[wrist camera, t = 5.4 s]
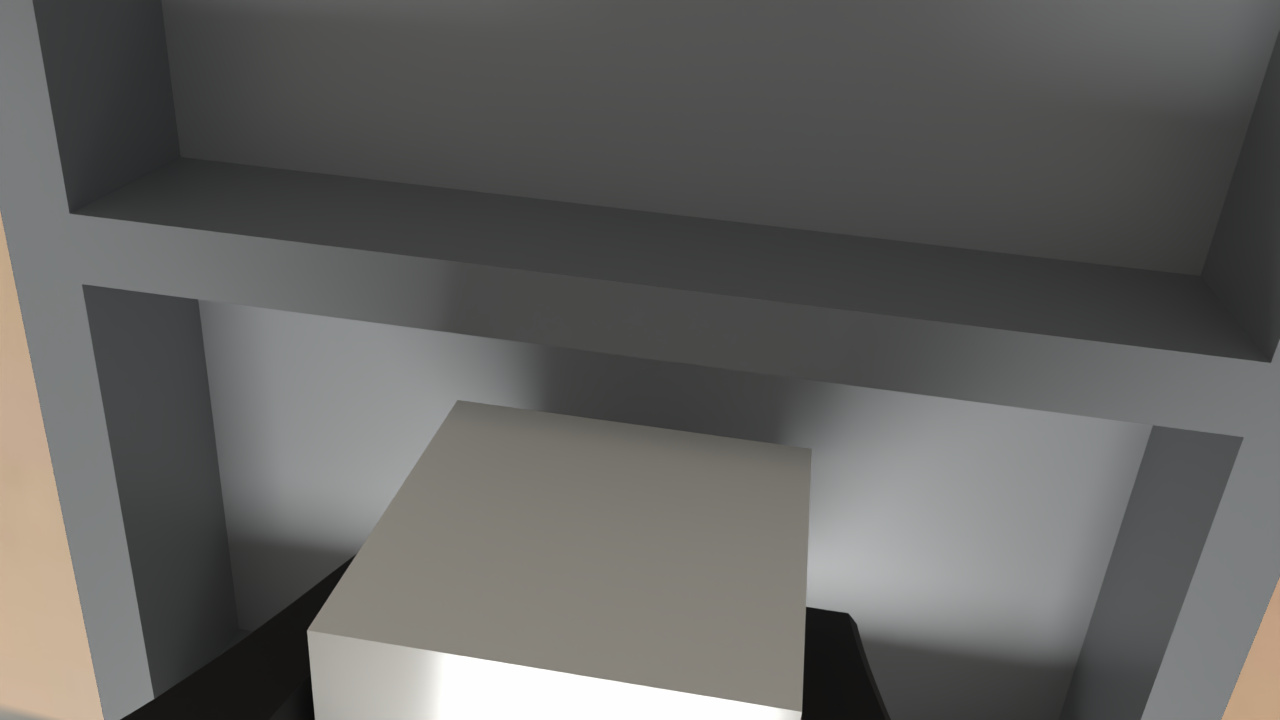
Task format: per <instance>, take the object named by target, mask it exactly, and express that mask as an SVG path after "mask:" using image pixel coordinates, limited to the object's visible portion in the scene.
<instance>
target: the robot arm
mask: <svg viewBox="0 0 1280 720" xmlns="http://www.w3.org/2000/svg"><path fill="white" fill-rule="evenodd" d="M356 555H357V554H356ZM356 555H354V556H353V557H351V558H350V559H349V560H348V561H346V562H345V563H344V564H342V565H341V566H340V567H338V568H337V569H336V570H334V571H333V572H332V573H330V574H329V575H328V576H327V577H325V578H324V579H323V580H321V581H320V582H319V583H317V584H316V585H315V586H314V587H312V588H311V589H310V590H308V591H307V592H306V593H304V594H303V595H302V596H300V597H299V598H298V599H296V600H295V601H294V602H292V603H291V604H290V605H289V606H287V607H286V608H285V609H283V610H282V611H281V612H279V613H278V614H276V615H275V616H274V617H272V618H271V619H270V620H268V621H267V622H266V623H264V624H263V625H261V626H260V627H259V628H257V629H256V630H255V631H253V632H252V633H250V634H249V635H248V636H246V637H245V638H244V639H242V640H241V641H239V642H238V643H237V644H235V645H234V646H233V647H231V648H230V649H228V650H227V651H226V652H224V653H223V654H221V655H220V656H218V657H217V658H215V659H214V660H212V661H211V662H209V663H208V664H206V665H205V666H203V667H202V668H200V669H199V670H197V671H196V672H194V673H193V674H191V675H190V676H188V677H187V678H185V679H184V680H182V681H181V682H179V683H178V684H176V685H175V686H173V687H172V688H170V689H169V690H167V691H166V692H164V693H163V694H161V695H160V696H158V697H157V698H155V699H153V700H152V701H150V702H148V703H147V704H145V705H144V706H142V707H140V708H139V709H137V710H135V711H134V712H132V713H130V714H129V715H127V716H125V717H123V718H122V719H120V720H315V714H314V703H313V692H312V681H311V670H310V658H309V647H308V636H307V630H308V628H309V627H310V625H311V624H312V622H313V620H314V619H315V617H316V616H317V614H318V613H319V611H320V610H321V608H322V607H323V605H324V604H325V602H326V601H327V599H328V598H329V596H330V594H331V593H332V591H333V590H334V588H335V587H336V585H337V584H338V582H339V581H340V579H341V578H342V576H343V575H344V573H345V572H346V570H347V568H348V567H349V565H350V564H351V562H352V561H353V559H354V558H355V556H356ZM801 720H891V719H890V716H889V714H888V712H887V709H886V707H885V704H884V702H883V699H882V697H881V694H880V692H879V689H878V687H877V684H876V682H875V679H874V676H873V674H872V671H871V668H870V665H869V663H868V660H867V657H866V654H865V651H864V647H863V644H862V641H861V638H860V634H859V630H858V626H857V623H856V622H855V621H854V620H853V618H852V617H851V616H850V615H849V613H844V612H837V611H831V610H824V609H818V608H811V607H806V617H805V645H804V672H803V699H802V715H801Z"/></svg>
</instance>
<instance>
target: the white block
mask: <svg viewBox="0 0 1280 720" xmlns="http://www.w3.org/2000/svg"><path fill="white" fill-rule="evenodd" d="M811 453H812V449H809V448H802V447H795V446H787V445H780V444H773V443H766V442H758V441H751V440H744V439H737V438H729V437H722V436H715V435H708V434H701V433H693V432H686V431H679V430H672V429H664V428H657V427H650V426H643V425H635V424H628V423H621V422H614V421H606V420H599V419H592V418H585V417H577V416H570V415H563V414H556V413H548V412H541V411H534V410H527V409H519V408H512V407H505V406H498V405H490V404H483V403H476V402H469V401H461V400H457V402H456V403H455V405H454V406H453V408H452V409H451V411H450V412H449V414H448V415H447V417H446V419H445V420H444V422H443V423H442V425H441V426H440V428H439V429H438V431H437V432H436V434H435V435H434V437H433V438H432V440H431V441H430V443H429V445H428V446H427V448H426V449H425V451H424V452H423V454H422V455H421V457H420V458H419V460H418V461H417V463H416V464H415V466H414V467H413V469H412V471H411V472H410V474H409V475H408V477H407V478H406V480H405V481H404V483H403V484H402V486H401V487H400V489H399V490H398V492H397V493H396V495H395V497H394V498H393V500H392V501H391V503H390V504H389V506H388V507H387V509H386V510H385V512H384V513H383V515H382V516H381V518H380V520H379V521H378V523H377V524H376V526H375V527H374V529H373V530H372V532H371V533H370V535H369V536H368V538H367V539H366V541H365V542H364V544H363V546H362V547H361V549H360V550H359V552H358V553H357V555H356V556H355V558H354V559H353V561H352V562H351V564H350V565H349V567H348V568H347V570H346V572H345V573H344V575H343V576H342V578H341V579H340V581H339V582H338V584H337V585H336V587H335V588H334V590H333V591H332V593H331V594H330V596H329V598H328V599H327V601H326V602H325V604H324V605H323V607H322V608H321V610H320V611H319V613H318V614H317V616H316V617H315V619H314V620H313V622H312V624H311V625H310V627H309V628H308V630H307V636H308V647H309V658H310V670H311V681H312V692H313V703H314V714H315V720H801V715H802V699H803V672H804V645H805V617H806V590H807V563H808V535H809V508H810V481H811Z"/></svg>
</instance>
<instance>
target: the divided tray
mask: <svg viewBox="0 0 1280 720" xmlns="http://www.w3.org/2000/svg"><path fill="white" fill-rule="evenodd" d="M0 211H1V216H2V221H3V226H4V230H5V235H6V240H7V245H8V250H9V255H10V260H11V265H12V270H13V275H14V280H15V284H16V289H17V294H18V299H19V304H20V309H21V314H22V319H23V324H24V329H25V334H26V338H27V343H28V348H29V353H30V358H31V363H32V368H33V373H34V378H35V383H36V388H37V392H38V397H39V402H40V407H41V412H42V417H43V422H44V427H45V432H46V437H47V442H48V447H49V451H50V456H51V461H52V466H53V471H54V476H55V481H56V486H57V491H58V496H59V501H60V505H61V510H62V515H63V520H64V525H65V530H66V535H67V540H68V545H69V550H70V555H71V559H72V564H73V569H74V574H75V579H76V584H77V589H78V594H79V599H80V604H81V609H82V613H83V618H84V623H85V628H86V633H87V638H88V643H89V648H90V653H91V658H92V663H93V667H94V672H95V677H96V682H97V687H98V692H99V697H100V702H101V707H102V712H103V717H104V720H120V719H122V718H123V717H125V716H127V715H129V714H130V713H132V712H134V711H135V710H137V709H139V708H140V707H142V706H144V705H145V704H147V703H148V702H150V701H152V700H153V699H155V698H157V697H158V696H160V695H161V694H163V693H164V692H166V691H167V690H169V689H170V688H172V687H173V686H175V685H176V684H178V683H179V682H181V681H182V680H184V679H185V678H187V677H188V676H190V675H191V674H193V673H194V672H196V671H197V670H199V669H200V668H202V667H203V666H205V665H206V664H208V663H209V662H211V661H212V660H214V659H215V658H217V657H218V656H220V655H221V654H223V653H224V652H226V651H227V650H228V649H230V648H231V647H233V646H234V645H235V644H237V643H238V642H239V641H241V640H242V639H244V638H245V637H246V636H248V635H249V634H250V633H252V632H253V631H255V630H256V629H257V628H259V627H260V626H261V625H263V624H264V623H266V622H267V621H268V620H270V619H271V618H272V617H274V616H275V615H276V614H278V613H279V612H281V611H282V610H283V609H285V608H286V607H287V606H289V605H290V604H291V603H292V602H294V601H295V600H296V599H298V598H299V597H300V596H302V595H303V594H304V593H306V592H307V591H308V590H310V589H311V588H312V587H314V586H315V585H316V584H317V583H319V582H320V581H321V580H323V579H324V578H325V577H327V576H328V575H329V574H330V573H332V572H333V571H334V570H336V569H337V568H338V567H340V566H341V565H342V564H344V563H345V562H346V561H348V560H349V559H350V558H351V557H353V556H354V555H356V554H357V553H358V552H359V550H360V549H361V547H362V546H363V544H364V542H365V541H366V539H367V538H368V536H369V535H370V533H371V532H372V530H373V529H374V527H375V526H376V524H377V523H378V521H379V520H380V518H381V516H382V515H383V513H384V512H385V510H386V509H387V507H388V506H389V504H390V503H391V501H392V500H393V498H394V497H395V495H396V493H397V492H398V490H399V489H400V487H401V486H402V484H403V483H404V481H405V480H406V478H407V477H408V475H409V474H410V472H411V471H412V469H413V467H414V466H415V464H416V463H417V461H418V460H419V458H420V457H421V455H422V454H423V452H424V451H425V449H426V448H427V446H428V445H429V443H430V441H431V440H432V438H433V437H434V435H435V434H436V432H437V431H438V429H439V428H440V426H441V425H442V423H443V422H444V420H445V419H446V417H447V415H448V414H449V412H450V411H451V409H452V408H453V406H454V405H455V403H456V402H457V400H461V401H469V402H476V403H483V404H490V405H498V406H505V407H512V408H519V409H527V410H534V411H541V412H548V413H556V414H563V415H570V416H577V417H585V418H592V419H599V420H606V421H614V422H621V423H628V424H635V425H643V426H650V427H657V428H664V429H672V430H679V431H686V432H693V433H701V434H708V435H715V436H722V437H729V438H737V439H744V440H751V441H758V442H766V443H773V444H780V445H787V446H795V447H802V448H809V449H812V453H811V481H810V508H809V535H808V563H807V590H806V607H811V608H818V609H824V610H831V611H837V612H844V613H849V615H850V616H851V617H852V618H853V620H854V621H855V622H856V623H857V626H858V630H859V634H860V638H861V641H862V644H863V647H864V651H865V654H866V657H867V660H868V663H869V665H870V668H871V671H872V674H873V676H874V679H875V682H876V684H877V687H878V689H879V692H880V694H881V697H882V699H883V702H884V704H885V707H886V709H887V712H888V714H889V716H890V719H891V720H1221V719H1222V716H1223V714H1224V711H1225V709H1226V707H1227V704H1228V702H1229V699H1230V697H1231V694H1232V692H1233V689H1234V687H1235V685H1236V682H1237V680H1238V677H1239V675H1240V672H1241V670H1242V667H1243V665H1244V662H1245V660H1246V658H1247V655H1248V653H1249V650H1250V648H1251V645H1252V643H1253V640H1254V638H1255V636H1256V633H1257V631H1258V628H1259V626H1260V623H1261V621H1262V618H1263V616H1264V614H1265V611H1266V609H1267V606H1268V604H1269V601H1270V599H1271V596H1272V594H1273V592H1274V589H1275V587H1276V584H1277V582H1278V579H1279V577H1280V0H0Z"/></svg>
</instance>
